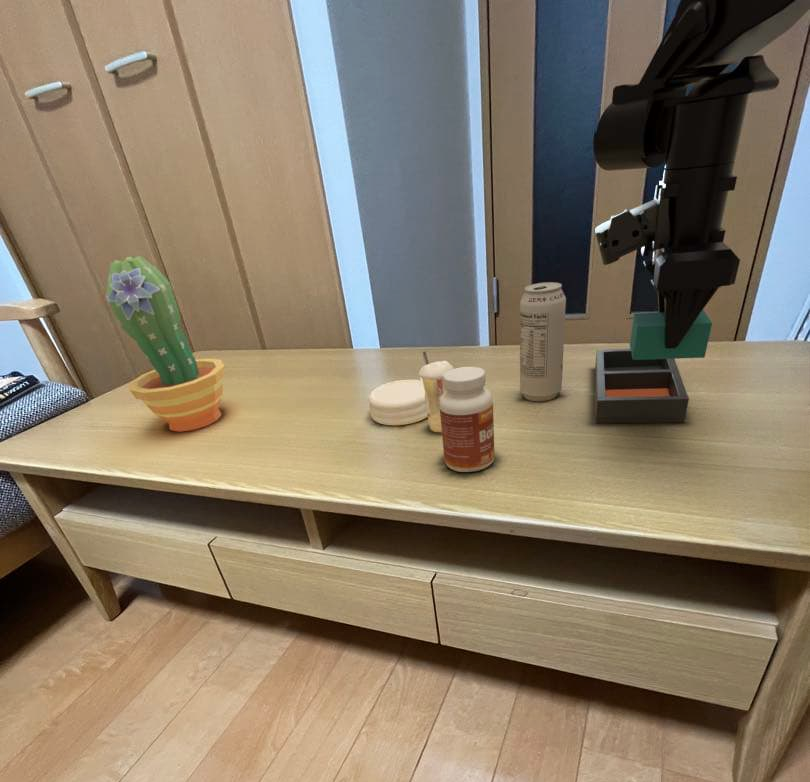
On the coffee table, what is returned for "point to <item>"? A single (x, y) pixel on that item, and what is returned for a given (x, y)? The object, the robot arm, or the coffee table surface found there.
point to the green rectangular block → (652, 338)
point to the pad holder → (637, 389)
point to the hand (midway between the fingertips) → (667, 339)
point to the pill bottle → (467, 420)
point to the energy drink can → (542, 340)
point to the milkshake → (433, 389)
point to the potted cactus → (164, 348)
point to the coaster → (398, 403)
